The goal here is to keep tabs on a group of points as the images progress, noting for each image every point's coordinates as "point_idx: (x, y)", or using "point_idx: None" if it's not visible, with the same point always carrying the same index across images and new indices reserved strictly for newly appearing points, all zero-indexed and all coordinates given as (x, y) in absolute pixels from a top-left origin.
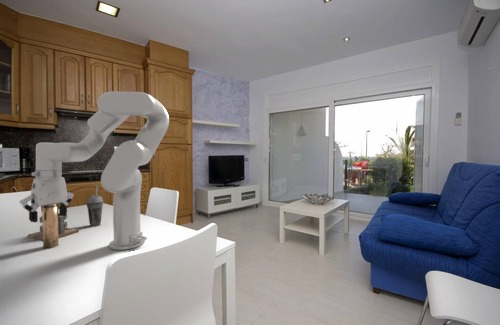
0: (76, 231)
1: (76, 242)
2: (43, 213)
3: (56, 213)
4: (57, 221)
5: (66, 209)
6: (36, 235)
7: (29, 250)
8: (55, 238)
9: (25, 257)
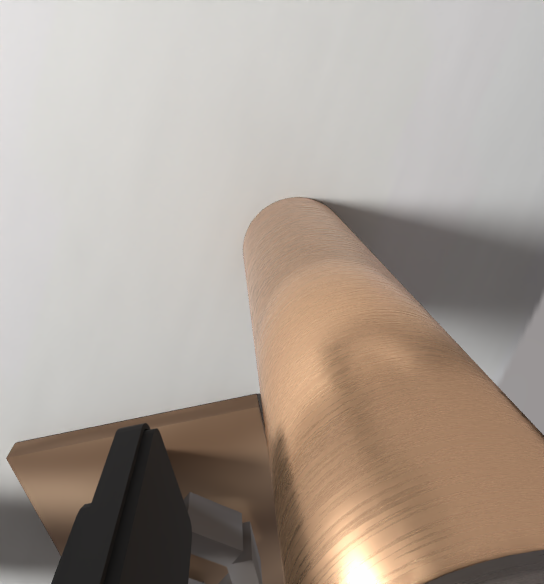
0: (31, 448)
1: (117, 157)
2: None
3: (344, 404)
4: (288, 322)
5: (66, 570)
6: (276, 540)
7: (416, 289)
8: (291, 220)
9: (507, 140)
